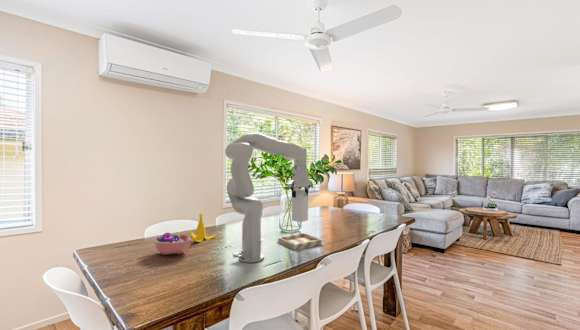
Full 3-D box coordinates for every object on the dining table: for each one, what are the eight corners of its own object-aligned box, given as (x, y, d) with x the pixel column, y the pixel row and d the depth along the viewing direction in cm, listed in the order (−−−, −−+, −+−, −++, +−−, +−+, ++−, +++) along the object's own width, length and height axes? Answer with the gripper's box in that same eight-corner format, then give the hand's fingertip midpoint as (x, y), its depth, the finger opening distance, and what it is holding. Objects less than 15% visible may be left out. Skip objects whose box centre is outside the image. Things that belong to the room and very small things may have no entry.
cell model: (180, 260, 141) (180, 238, 141) (145, 257, 145) (145, 236, 145) (198, 250, 158) (198, 230, 157) (166, 247, 162) (166, 228, 161)
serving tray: (294, 250, 158) (294, 245, 158) (277, 242, 172) (277, 237, 172) (321, 244, 169) (321, 239, 169) (303, 237, 184) (303, 232, 184)
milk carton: (301, 222, 165) (301, 190, 165) (291, 220, 170) (291, 189, 169) (308, 220, 171) (308, 189, 170) (298, 218, 175) (298, 188, 175)
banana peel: (192, 245, 167) (192, 217, 166) (189, 236, 184) (189, 211, 184) (220, 241, 174) (220, 214, 173) (215, 234, 191) (215, 209, 191)
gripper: (292, 168, 161) (291, 198, 162) (315, 168, 171) (315, 196, 172) (284, 168, 168) (284, 197, 168) (307, 167, 177) (307, 195, 178)
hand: (300, 196), depth 170 cm, fingers closed on milk carton, 8 cm apart
